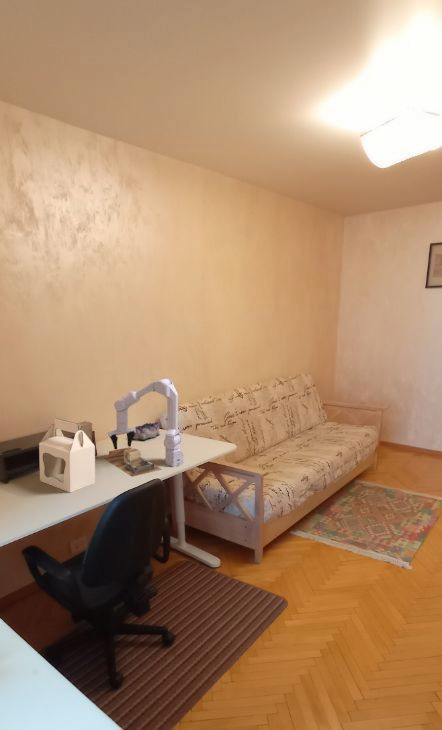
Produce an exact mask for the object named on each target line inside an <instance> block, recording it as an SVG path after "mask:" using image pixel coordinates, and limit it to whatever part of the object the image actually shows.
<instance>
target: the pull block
mask: <svg viewBox="0 0 442 730" xmlns="http://www.w3.org/2000/svg"><path fill="white" fill-rule="evenodd" d="M122 454H124V462H125V463H126V462H129V463H131V464H132V465H133V464H138V463H141V458H142V455H141V454H142V452H141V450H139V449H137V448H132V447H129V446H127V447H123V448H120V449H118V448H117V449H114V450H109V451H108V456H109V457H111V456H116V455H122Z"/></svg>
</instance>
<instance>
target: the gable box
mask: <svg viewBox="0 0 442 730" xmlns="http://www.w3.org/2000/svg"><path fill="white" fill-rule="evenodd" d="M78 423H79V422H72V421H69V420H64V419H61V418H55V419H54V423H53V424H52V423H51V424H50V427H48V430H47V431H46V432H45V434H44V436H43V437H42V439H41V440H40V441H39V443H38V451H39V452H38V454H39V460H38V461H39V482H42V483H45V484H46V485H49V486H51V487H55V488H57V489H59V490H63V491H65V492H67V493H73V492H75V491H79V490H81V489H84V488H87V487H89V486H91V485H94V484H96V446H95V444H94V443H93V441H92V442H91V440H90V439H89V438H88V437H87V435H86V434H85V433H84V432H83V431H82V430H80V429H81V425H78ZM62 431H65V432H67V433H68V432H72V433H75V436H73V438H71V437H67V436H64V434H63V432H62Z"/></svg>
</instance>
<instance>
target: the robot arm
mask: <svg viewBox="0 0 442 730" xmlns="http://www.w3.org/2000/svg"><path fill="white" fill-rule="evenodd" d="M150 392H154V393H155V392H156V393H158V394H160V395H162V396H163V397H165V398H166V400H167V402H166V403H167V407H166V408H167V412H166V414H167V416H166V417H167V418H166V420H167V421H166V422H167V423H166V425H167V428H166V432H165V437H164V439H163V447H165V448H164V449H165V453H164V456H165V459H164V460H165V461H164V462H165V465H167V466H170V467H171V468H175V467H180V466H184V453H183V451H182V450H181V446H180V443H181V442H182V436H181V433H180V430H179V418H178V417H179V393H178V392H177V389H176V388H175V386H174V382H173V380H170V378H167V377H164V378H162V379H158V380H156V381H154V382H151V383H149V384H146V386H144V387H143V388H141V389H140V390H137V391H129V392H128V393H127V394H126V395H125V396H122V397H121V399H117V400H116V401H115V402H114V406H113V407H114V409H115V411H116V412H115V413H116V415H115V416H116V417H115V419H116V429H115V430H111V431H108V432H107V435H108V436H109V438H110V440H111V442H112V445H113V449H114V450H118V439H119V437H118V436H120V435H124V434H126V438H127V447H130V448H132V442H133V440H134V439H133V437H134V436H135V433H134V432H136V429H135V427H129V418H128V416H129V415H128V414H129V408H130V407H132V406H133V405H135V404H136V403H138V402H140V400H141V398H142V397H143V396H146V395H147V394H149V393H150Z"/></svg>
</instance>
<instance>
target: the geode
mask: <svg viewBox="0 0 442 730" xmlns="http://www.w3.org/2000/svg"><path fill="white" fill-rule="evenodd" d="M134 428H135V429H136V432H134V433H135V436H134V437H133V440H137V441H145V440H147V439H155V438H157V436H161V435H160V434H161V433H160V426H159V423H158V422H155V423H154V422H152V423H151V422H149V423H148V422H147V423H144V424H142V425H138V426H137V425H136V426H135V427H134Z"/></svg>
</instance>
